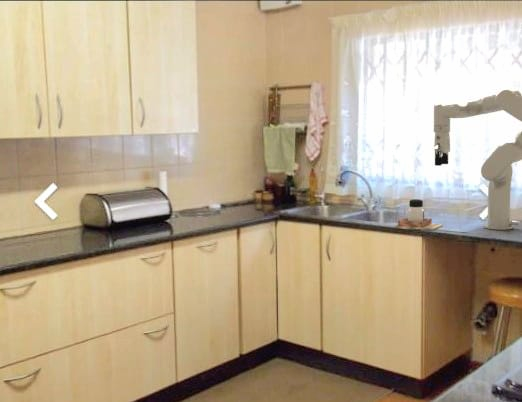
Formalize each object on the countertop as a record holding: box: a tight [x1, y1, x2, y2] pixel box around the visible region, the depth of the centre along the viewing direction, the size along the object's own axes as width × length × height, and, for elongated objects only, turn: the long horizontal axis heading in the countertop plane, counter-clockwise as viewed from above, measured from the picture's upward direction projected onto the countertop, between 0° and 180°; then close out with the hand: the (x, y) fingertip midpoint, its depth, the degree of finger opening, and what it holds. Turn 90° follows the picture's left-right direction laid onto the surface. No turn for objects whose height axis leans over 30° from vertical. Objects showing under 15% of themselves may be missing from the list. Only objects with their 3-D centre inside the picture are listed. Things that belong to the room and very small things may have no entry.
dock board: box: [395, 216, 444, 232], centre depth 304 cm, size 18×14×4 cm
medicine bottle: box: [407, 199, 425, 222], centre depth 304 cm, size 7×7×12 cm
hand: (441, 164), depth 312 cm, fingers open, 9 cm apart
